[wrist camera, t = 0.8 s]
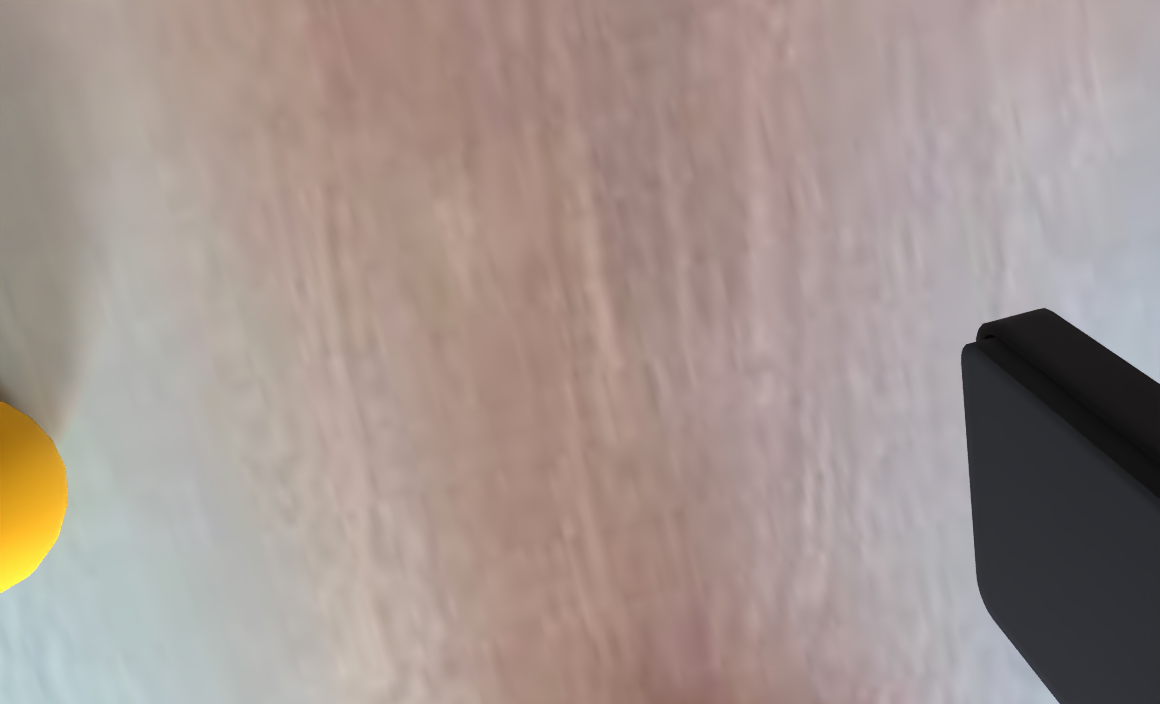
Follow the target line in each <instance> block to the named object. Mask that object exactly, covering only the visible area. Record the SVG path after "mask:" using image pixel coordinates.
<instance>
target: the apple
mask: <svg viewBox="0 0 1160 704" xmlns="http://www.w3.org/2000/svg"><path fill="white" fill-rule="evenodd" d="M67 502H68V493H67V481H66V470H65V465H64V463H63V461H62V459H61V457H60V455H59V453H58V451H57V449H56V447H55V445H54V443H53V441H52V439H51V438H50V437H49V436H48V435H47V434H46V433H45V432H44V431H43V430H42V429H41V428H40V427H39V426H38V424H37V423H36V422H35V421H34V420H33V419H32V418H30V417H29V416H27V415H25V414H24V413H22V412H20V411H19V410H17V409H15V408H14V407H12V406H10V405H9V404H7V403H4V402H1V401H0V593H1V592H3V591H5V590H6V589H8V588H10V587H11V586H13V585H15V584H17V583H18V582H20V581H22V580H23V579H25V578H26V577H28V576H29V575H30V574H31V573H32V572H34V570H35V569H36V568H37V566H38V565H39V564H40V562H41V561H42V560H43V558H44V557H45V556H46V554H47V553H48V552H49V550H50V549H51V548H52V546H53V545H54V544H55V542H56V540H57V538H58V535H59V533H60V530H61V526H62V523H63V519H64V515H65V512H66V508H67Z"/></svg>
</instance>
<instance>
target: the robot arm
mask: <svg viewBox="0 0 1160 704" xmlns="http://www.w3.org/2000/svg"><path fill="white" fill-rule="evenodd" d="M961 366H962V380H963V394H964V408H965V422H966V436H967V450H968V464H969V477H970V491H971V505H972V519H973V533H974V547H975V561H976V575H977V582H978V587H979V591H980V594H981V597H982V599H983V602H984V604H985V606H986V608H987V610H988V612H989V614H990V615H991V617H992V618H993V620H994V621H995V622H996V624H997V625H998V626H999V627H1000V629H1001V630H1002V631H1003V632H1004V634H1005V635H1006V636H1007V637H1008V639H1009V640H1010V641H1011V643H1012V644H1013V645H1014V646H1015V648H1016V649H1017V650H1018V651H1019V653H1020V654H1021V655H1022V656H1023V658H1024V659H1025V660H1026V662H1027V663H1028V664H1029V665H1030V667H1031V668H1032V669H1033V670H1034V672H1035V673H1036V674H1037V675H1038V677H1039V678H1040V679H1041V681H1042V682H1043V683H1044V684H1045V686H1046V687H1047V688H1048V689H1049V691H1050V692H1051V693H1052V694H1053V696H1054V697H1055V698H1056V700H1057V701H1058V702H1059V703H1060V704H1160V384H1159V383H1157V382H1156V381H1154V380H1153V379H1151V378H1150V377H1149V376H1147V375H1146V374H1144V373H1143V372H1141V371H1140V370H1138V369H1137V368H1135V367H1134V366H1132V365H1131V364H1129V363H1128V362H1126V361H1125V360H1123V359H1122V358H1120V357H1119V356H1118V355H1116V354H1115V353H1113V352H1112V351H1110V350H1109V349H1107V348H1106V347H1104V346H1103V345H1101V344H1100V343H1098V342H1097V341H1095V340H1094V339H1092V338H1091V337H1089V336H1088V335H1087V334H1085V333H1084V332H1082V331H1081V330H1079V329H1078V328H1076V327H1075V326H1073V325H1072V324H1070V323H1069V322H1067V321H1066V320H1064V319H1063V318H1061V317H1060V316H1058V315H1057V314H1056V313H1054V312H1053V311H1050V310H1048V309H1046V308H1042V309H1037V310H1033V311H1030V312H1026V313H1022V314H1018V315H1015V316H1011V317H1007V318H1003V319H999V320H996V321H992V322H988V323H984V324H982V326H981V327H980V328H979V330H978V333H977V337H976V342H973V343H969V344H966V345H965V346H964V348H963V350H962V354H961Z"/></svg>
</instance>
